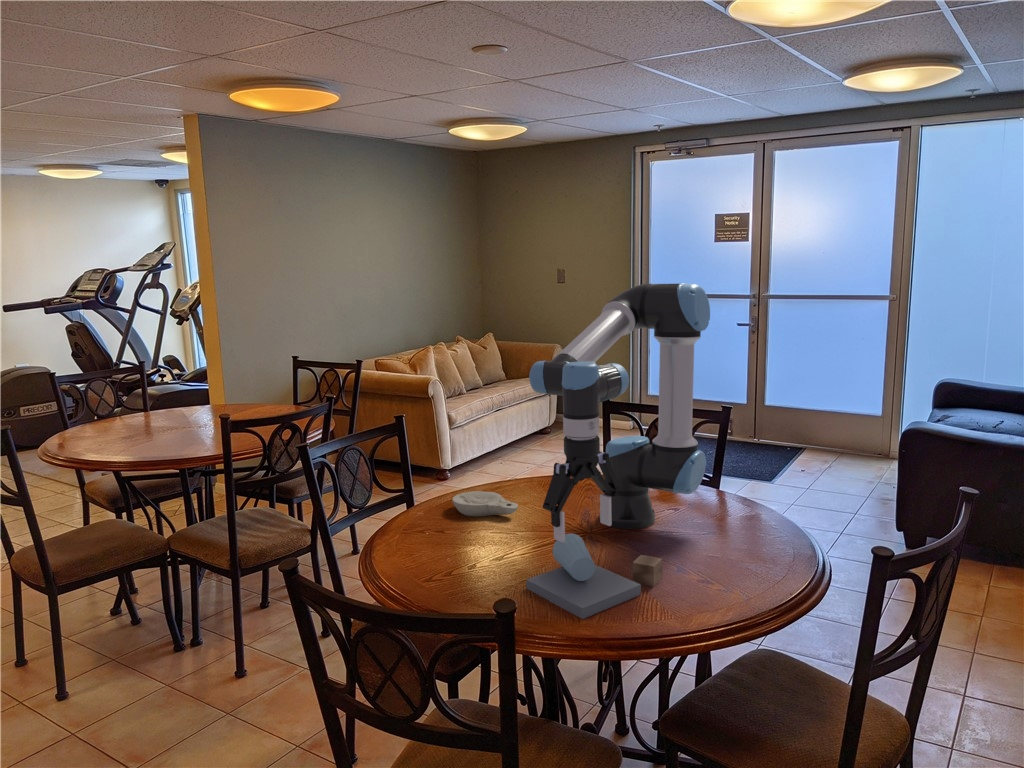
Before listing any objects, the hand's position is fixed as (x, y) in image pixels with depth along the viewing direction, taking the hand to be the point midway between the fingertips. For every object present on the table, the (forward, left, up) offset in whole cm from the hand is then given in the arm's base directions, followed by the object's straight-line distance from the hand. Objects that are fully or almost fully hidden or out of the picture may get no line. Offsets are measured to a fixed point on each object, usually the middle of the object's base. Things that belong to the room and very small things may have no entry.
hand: (583, 532), depth 158 cm
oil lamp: (-55, +14, -14) cm, 58 cm away
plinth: (0, 0, -14) cm, 14 cm away
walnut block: (+5, +15, -14) cm, 21 cm away
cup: (0, -1, -12) cm, 12 cm away
